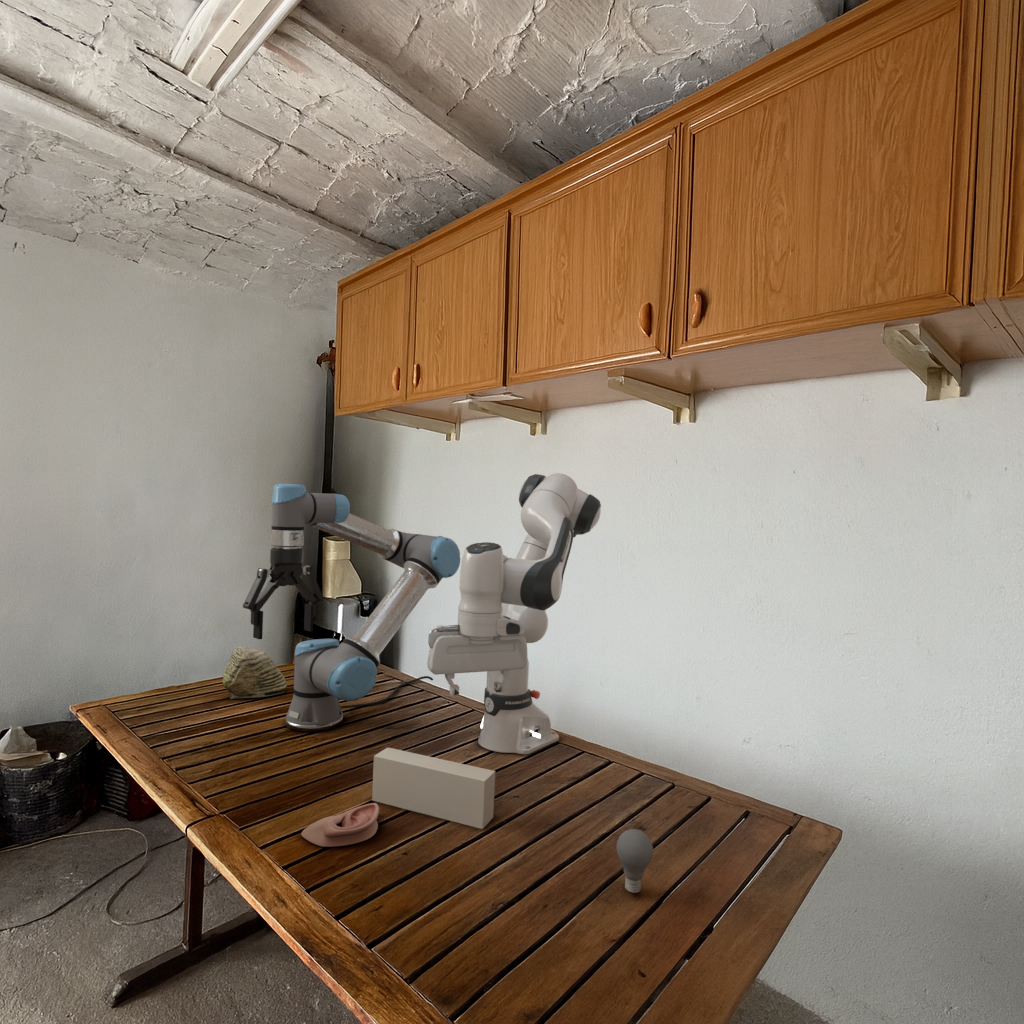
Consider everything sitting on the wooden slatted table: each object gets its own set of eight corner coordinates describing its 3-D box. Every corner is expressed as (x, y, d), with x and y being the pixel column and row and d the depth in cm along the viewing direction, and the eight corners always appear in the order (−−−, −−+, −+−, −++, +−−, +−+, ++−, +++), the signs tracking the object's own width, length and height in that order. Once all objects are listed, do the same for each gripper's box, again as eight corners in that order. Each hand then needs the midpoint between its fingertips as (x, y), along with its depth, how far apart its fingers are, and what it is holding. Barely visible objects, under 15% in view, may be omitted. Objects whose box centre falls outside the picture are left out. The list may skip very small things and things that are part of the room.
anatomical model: (293, 820, 116) (324, 792, 127) (292, 842, 116) (323, 812, 127) (360, 831, 113) (386, 801, 124) (359, 853, 113) (385, 821, 124)
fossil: (218, 695, 195) (220, 647, 195) (278, 685, 208) (279, 640, 207) (228, 703, 189) (230, 653, 188) (289, 692, 201) (290, 645, 201)
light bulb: (610, 879, 108) (613, 822, 108) (644, 879, 109) (647, 822, 109) (619, 902, 102) (622, 840, 102) (655, 901, 103) (658, 840, 103)
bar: (371, 800, 133) (373, 755, 133) (385, 790, 138) (387, 747, 138) (482, 829, 124) (484, 781, 123) (493, 817, 128) (495, 771, 128)
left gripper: (246, 550, 142) (242, 644, 142) (339, 547, 161) (336, 629, 162) (229, 547, 146) (226, 638, 147) (322, 544, 166) (318, 625, 166)
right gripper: (433, 629, 120) (430, 701, 120) (532, 625, 127) (529, 694, 128) (425, 622, 126) (422, 692, 126) (520, 619, 133) (517, 685, 133)
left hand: (283, 634), depth 154 cm, fingers open, 13 cm apart
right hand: (476, 693), depth 127 cm, fingers open, 8 cm apart
